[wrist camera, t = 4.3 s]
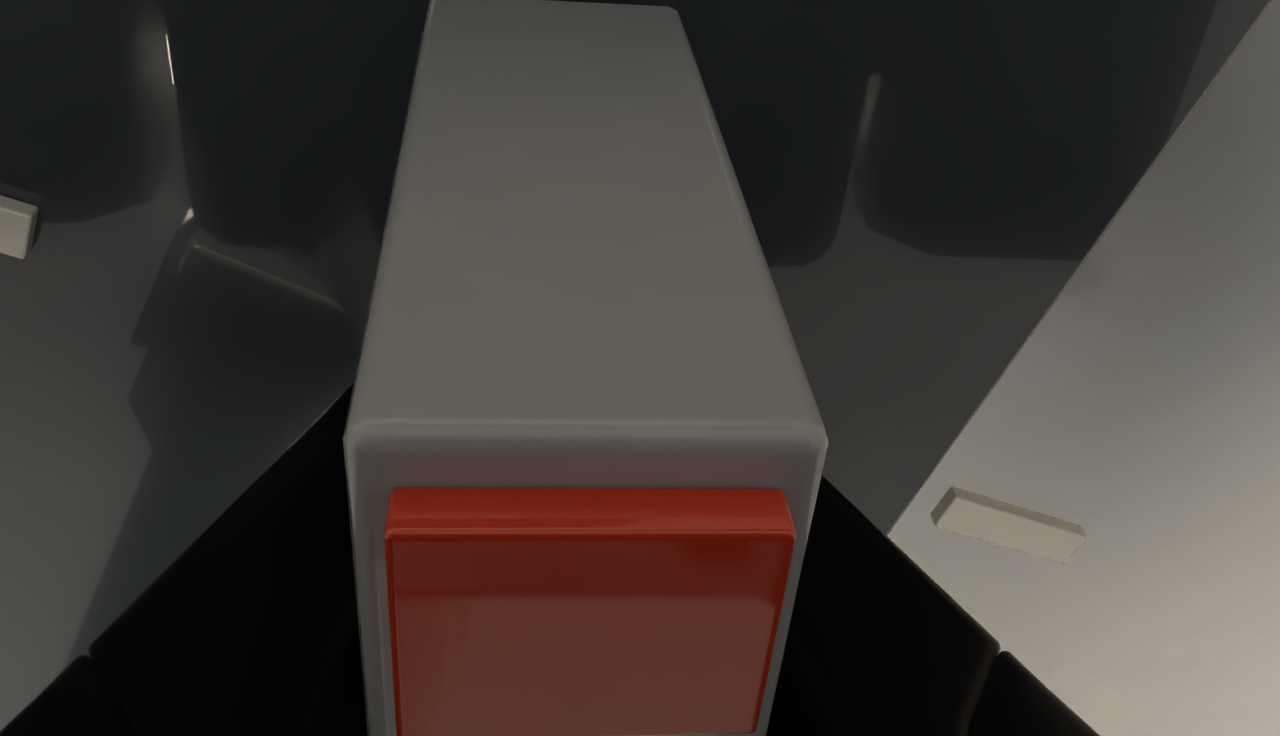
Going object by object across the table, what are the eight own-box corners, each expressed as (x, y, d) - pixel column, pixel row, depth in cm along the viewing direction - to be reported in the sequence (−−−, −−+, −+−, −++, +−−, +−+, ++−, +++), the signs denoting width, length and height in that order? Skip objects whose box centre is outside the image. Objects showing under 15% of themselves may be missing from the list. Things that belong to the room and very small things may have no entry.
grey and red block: (619, 648, 11) (675, 1256, 7) (444, 650, 11) (402, 1275, 7) (680, 3, 8) (859, 484, 4) (428, -11, 7) (326, 483, 3)
